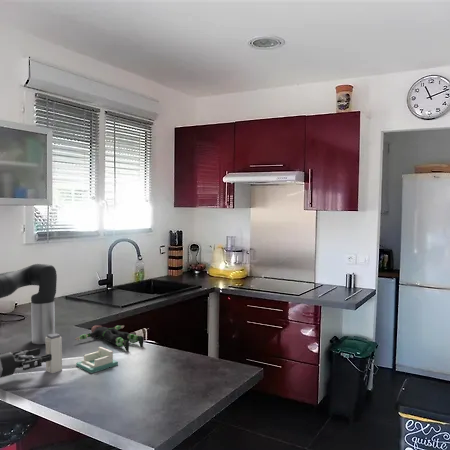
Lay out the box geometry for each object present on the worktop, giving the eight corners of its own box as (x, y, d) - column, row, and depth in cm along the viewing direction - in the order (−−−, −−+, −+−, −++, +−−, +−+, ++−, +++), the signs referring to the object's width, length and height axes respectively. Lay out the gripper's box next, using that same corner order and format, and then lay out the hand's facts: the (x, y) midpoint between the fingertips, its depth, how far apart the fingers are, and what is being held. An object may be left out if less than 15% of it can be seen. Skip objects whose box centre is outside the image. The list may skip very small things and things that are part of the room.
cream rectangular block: (44, 371, 158) (43, 335, 157) (56, 367, 161) (56, 332, 161) (49, 373, 155) (49, 337, 155) (62, 370, 159) (61, 334, 158)
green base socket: (76, 366, 163) (76, 352, 162) (102, 358, 171) (102, 345, 171) (91, 373, 156) (91, 358, 156) (117, 364, 164) (117, 350, 164)
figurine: (158, 342, 192) (116, 331, 211) (158, 327, 192) (116, 318, 211) (108, 358, 173) (67, 344, 192) (108, 342, 172) (66, 330, 192)
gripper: (-13, 372, 148) (36, 359, 160) (5, 384, 138) (55, 369, 150) (-13, 350, 147) (35, 339, 159) (4, 360, 138) (55, 347, 150)
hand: (45, 354), depth 155 cm, fingers open, 8 cm apart
